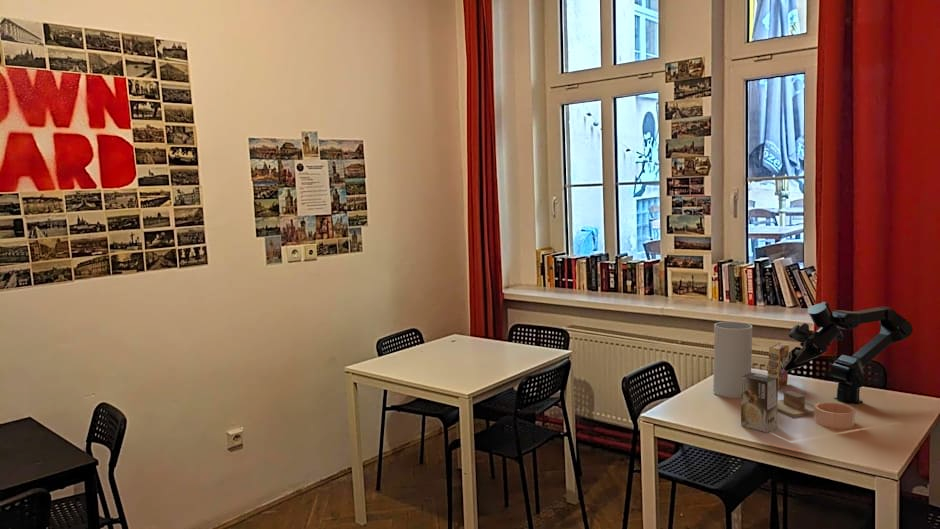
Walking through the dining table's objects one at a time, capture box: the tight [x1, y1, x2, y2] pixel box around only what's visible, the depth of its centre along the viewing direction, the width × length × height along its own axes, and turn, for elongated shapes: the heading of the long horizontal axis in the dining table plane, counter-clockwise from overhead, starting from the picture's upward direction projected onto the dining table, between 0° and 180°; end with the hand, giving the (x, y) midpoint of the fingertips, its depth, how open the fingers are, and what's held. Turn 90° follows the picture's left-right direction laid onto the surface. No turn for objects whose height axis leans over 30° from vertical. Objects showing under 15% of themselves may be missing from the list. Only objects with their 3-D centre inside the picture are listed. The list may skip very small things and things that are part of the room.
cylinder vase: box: [712, 321, 753, 399], centre depth 251 cm, size 12×12×25 cm
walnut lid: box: [777, 390, 815, 418], centre depth 234 cm, size 13×13×5 cm
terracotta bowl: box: [813, 401, 856, 430], centre depth 221 cm, size 11×11×5 cm
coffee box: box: [740, 372, 779, 433], centre depth 219 cm, size 9×6×16 cm
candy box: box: [767, 342, 790, 389], centre depth 259 cm, size 9×4×15 cm, turn 134°
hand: (790, 366), depth 231 cm, fingers open, 9 cm apart
